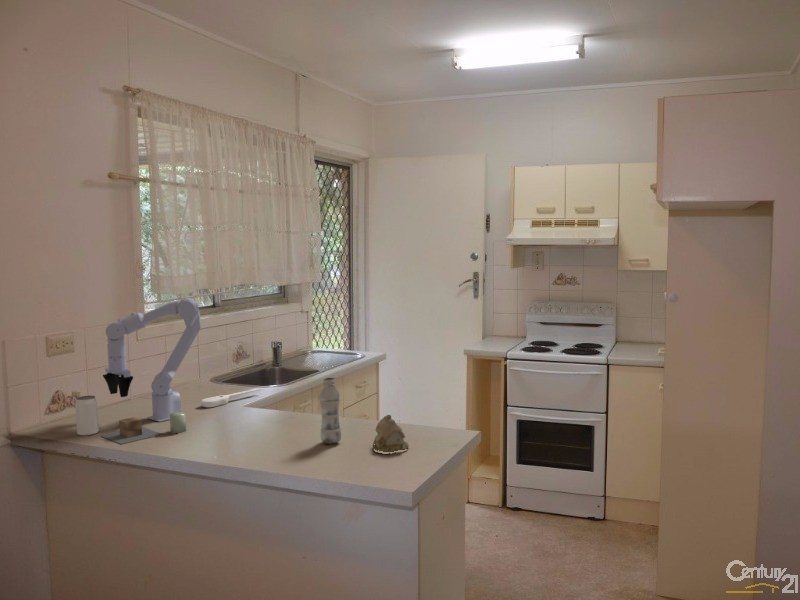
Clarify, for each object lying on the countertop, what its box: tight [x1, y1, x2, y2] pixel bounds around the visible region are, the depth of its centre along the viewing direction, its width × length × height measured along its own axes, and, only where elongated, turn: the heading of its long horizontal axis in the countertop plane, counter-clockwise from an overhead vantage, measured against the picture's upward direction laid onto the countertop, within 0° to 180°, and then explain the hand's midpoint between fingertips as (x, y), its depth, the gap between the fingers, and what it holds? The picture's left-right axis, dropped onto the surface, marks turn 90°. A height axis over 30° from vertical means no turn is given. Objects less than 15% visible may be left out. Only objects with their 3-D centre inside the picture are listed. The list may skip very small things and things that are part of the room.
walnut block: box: [118, 416, 143, 438], centre depth 223 cm, size 5×5×5 cm
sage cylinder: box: [169, 411, 187, 434], centre depth 226 cm, size 5×5×6 cm
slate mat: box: [100, 426, 163, 445], centre depth 223 cm, size 14×14×1 cm
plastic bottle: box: [319, 377, 342, 445], centre depth 210 cm, size 6×7×20 cm
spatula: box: [200, 387, 263, 409], centre depth 269 cm, size 28×6×3 cm, turn 140°
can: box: [74, 395, 99, 437], centre depth 226 cm, size 6×6×12 cm
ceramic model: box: [372, 414, 410, 452], centre depth 206 cm, size 14×11×10 cm
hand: (118, 395), depth 240 cm, fingers open, 7 cm apart
